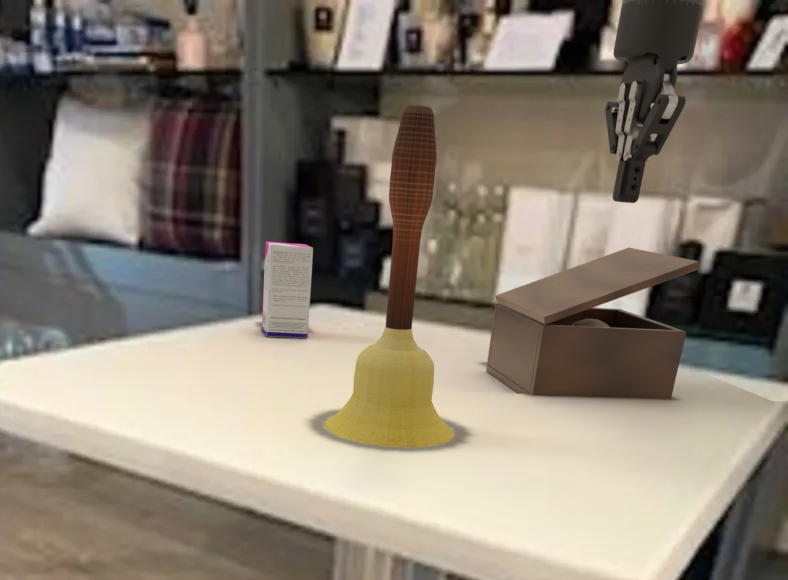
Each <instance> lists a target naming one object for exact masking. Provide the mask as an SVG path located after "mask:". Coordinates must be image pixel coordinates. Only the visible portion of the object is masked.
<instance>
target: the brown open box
mask: <svg viewBox="0 0 788 580" xmlns="http://www.w3.org/2000/svg"><path fill="white" fill-rule="evenodd" d="M584 319H598V320H600V321H602V322H604V323H606V324H607V325H608V326H609V327H589V326H571V325H572V324H574V323H575V322H577V321H581V320H584ZM686 335H687V331H685V330H683V329H679V328H676V327H674V326H671V325H668V324H665V323H662V322H659V321H657V320H653V319H652V318H651V319H650V318H647V317H645V316H643V315H639V314H636V313H633V312H630V311H627V310H624V309H622V308H610V307H609V308H607V307H605V308H604V307H593V308H590V309H587V310H585V311H582V312H579V313H576V314H574V315H571V316H568V317H565V318H562V319H560V320H557V321H554V322H551V323H549V324H546V325H545V324H543V323H541V322H539V321H536V320H534V319H532V318H530V317H528V316H526V315H523V314H521V313H519V312H517V311H515V310H512V309H510V308H508V307H506V306H504V305H502V304H499V303H497V302H495V303H494V311H493V317H492V324H491V334H490V338H489V339H490V340H489V347H488V354H487V361H486V370H485V371H486V372H487V373H488V374H490V375H492V376H493V377H494V378H495V379H497V380H498V381H500V382H501V383H503V384H504V385H505V386H507V387H508V388H510V389H511V390H512V391H514V392H515V393H517V394H520V395H532V396H553V397H554V396H556V397H559V396H560V397H590V398H592V397H593V398H621V399H622V398H626V399H627V398H628V399H659V400H662V399H663V400H671V399H672V397H673V391H674V389H675V384H676V379H677V376H678V375H677V374H678V370H679V367H680V362H681V357H682V353H683V348H684V345H685V341H686V337H687V336H686Z"/></svg>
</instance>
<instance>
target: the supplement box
mask: <svg viewBox="0 0 788 580" xmlns="http://www.w3.org/2000/svg"><path fill="white" fill-rule="evenodd" d="M264 246H265V247H264V248H265V249H264V265H263V267H264V268H263V270H264V271H263V290H262V292H263V293H262V312H261V313H262V314H261V315H262V316H261V331H262V332H263V334H264V336H265V337H268V338H296V339H307V338H308V336H309V324H310V323H309V321H310V309H311V308H310V306H311V292H312V291H311V290H312V275H313V258H314V247H313V246H310V245H308V244H305V243H304V244H303V243H291V242H279V241H278V242H277V241H267V240H266V242H265V245H264Z"/></svg>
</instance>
